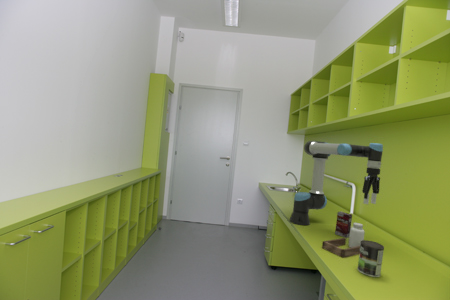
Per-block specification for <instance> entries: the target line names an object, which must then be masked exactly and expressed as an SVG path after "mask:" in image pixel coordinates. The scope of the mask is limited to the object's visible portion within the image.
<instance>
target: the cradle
mask: <svg viewBox="0 0 450 300" xmlns="http://www.w3.org/2000/svg"><path fill="white" fill-rule="evenodd" d="M346 242H347V238H345V237H340V238H335V239H328V240H323V241H322V244H321V248H322V249H323V250H326V251H327V252H329V253H332V254H334V255H335V256H338V257H341V258H343V259H344V258H349V257H353V256H357V255H359V253H360V246H356V247H352V248H350V247H347V248H341V246H345V245H346Z"/></svg>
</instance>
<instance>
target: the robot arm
mask: <svg viewBox="0 0 450 300" xmlns="http://www.w3.org/2000/svg"><path fill="white" fill-rule="evenodd" d="M383 148H384V147H383V144H382V143H376V142H375V143H374V142H370V143H369V145H361V144H360V145H359V144H351V143H329V142H325V141H318V140H308V141H307V142H305V144H304V145H303V149H304V152H305V153H306V154H307V155H310V156H312V160H313V170H312V176H311V177H312V179H311V187H310V188H311V189H310V190H309V191H308V192H307V191H300V192H299V191H298V192H296V193H295V194H294V198H293V207H292V208H293V210H292V213H291V214H290V218H289V222H290V223H292V224H295V225H300V226H310V224H311V223H310V222H311V221H310V216H309V211H310V210H322V209H324V208H326V205H327V203H328V199H327V196H326V195H325V192H324V189H323V188H324V180H325V169H326V161H327V160H328V159H329V157H330V156H331V155H333V156H334V155H336V156H345V157H347V156H348V157H357V158H367V161H366V162H367V163H366V164H367V165H366V174H367V176H364V177H363V178H364V181H363V184H362V185H363V187H362V189H361V191H362V193H363V194H364V195H363V203H362V204H365V205H369V200H370V203H371V204H374V205H376V204H377V197H378V196H377V195H378V194H379V193H380V182H381V181H380V180H381V177H380V176H379V175H380V174H381V166H382V156H383V151H384V149H383ZM371 188H372V192H371V197H370V191H371Z"/></svg>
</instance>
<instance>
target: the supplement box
mask: <svg viewBox="0 0 450 300" xmlns="http://www.w3.org/2000/svg"><path fill="white" fill-rule="evenodd" d="M336 214H337V215H336V222H335V223H336V224H335V230H334V234H335V235H337V236H340V237H342V238H346V239H349V236H350V229H351V227H352V219H353V214H352V213H347V212H345V211H337V212H336Z"/></svg>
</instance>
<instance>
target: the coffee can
mask: <svg viewBox="0 0 450 300" xmlns="http://www.w3.org/2000/svg"><path fill="white" fill-rule="evenodd" d="M360 243H361V245H360V253H359V254H358V261H357V271H358V272H359V273H361V274H363V275H365V276H368V277H372V278H380V277H381V272H382V264H383V259H384V258H383V257H384V249H385V246H384V245H383V244H381V243H378V242H376V241H373V240H366V239H364V240H362V241H361V242H360Z"/></svg>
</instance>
